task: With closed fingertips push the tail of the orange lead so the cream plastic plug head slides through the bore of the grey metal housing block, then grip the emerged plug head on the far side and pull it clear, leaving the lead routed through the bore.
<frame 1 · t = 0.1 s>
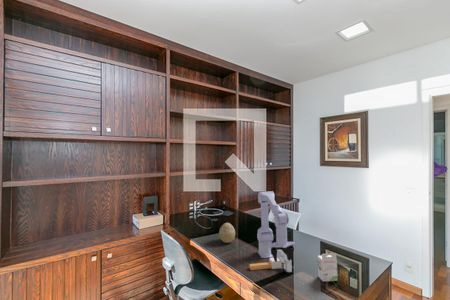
hand: (282, 260, 115), 10 cm above the table, fingers open, 7 cm apart
fossilized egg: (227, 242, 165), on the table
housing: (284, 265, 129), on the table
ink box: (327, 279, 115), on the table
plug: (275, 266, 128), on the table
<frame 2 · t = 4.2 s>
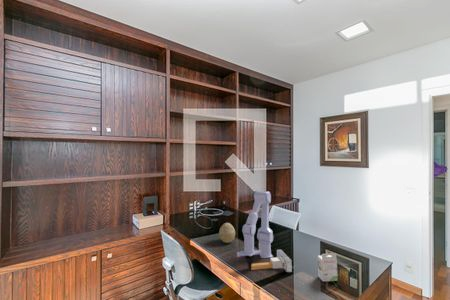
hand: (249, 267, 125), 1 cm above the table, fingers closed
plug: (276, 266, 128), on the table, touching gripper
everything else where it was.
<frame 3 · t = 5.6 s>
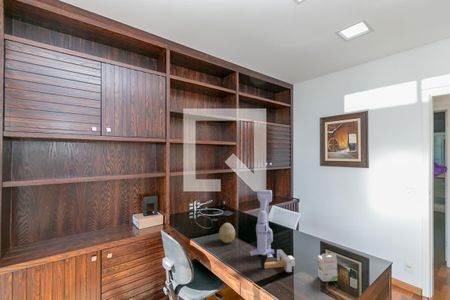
hand: (262, 266, 127), 1 cm above the table, fingers closed
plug: (288, 264, 130), on the table, touching gripper
everything else where it was.
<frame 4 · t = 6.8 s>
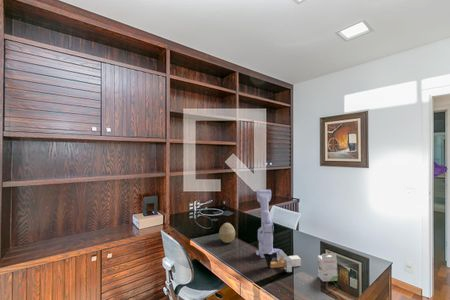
hand: (268, 265, 127), 1 cm above the table, fingers closed
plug: (294, 264, 130), on the table, touching gripper
everything else where it was.
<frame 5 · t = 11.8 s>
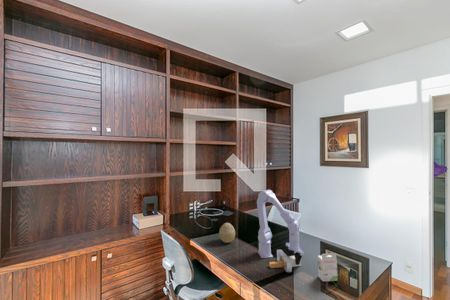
hand: (294, 262, 130), 1 cm above the table, fingers closed on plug, 5 cm apart
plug: (294, 264, 130), on the table, touching gripper
everything else where it was.
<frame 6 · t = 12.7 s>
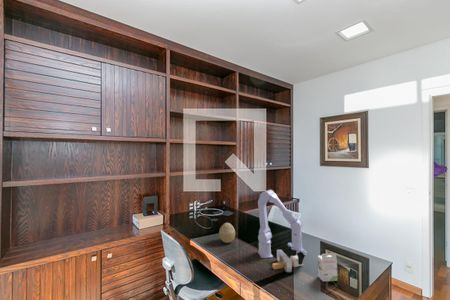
hand: (297, 262, 130), 1 cm above the table, fingers closed on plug, 5 cm apart
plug: (296, 264, 130), on the table, touching gripper
everything else where it was.
when the fingers open (1 cm above the table, at t = 14.1 s): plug stays where it is, on the table.
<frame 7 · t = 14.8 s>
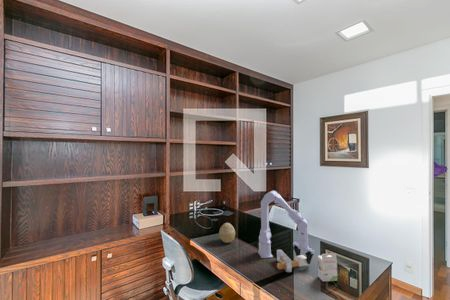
hand: (303, 261, 131), 2 cm above the table, fingers open, 7 cm apart
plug: (301, 264, 130), on the table
everything else where it was.
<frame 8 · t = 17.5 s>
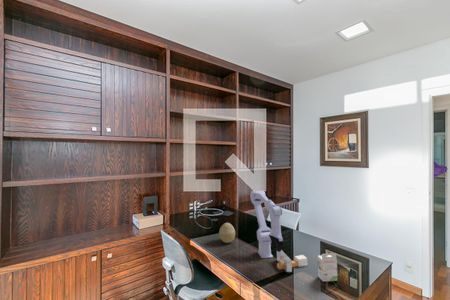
hand: (276, 248, 129), 10 cm above the table, fingers open, 7 cm apart
nothing on the table moved.
at the end: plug inside the target area (2.9 cm from its centre), on the table; the gripper is holding nothing; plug tilted 0° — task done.
